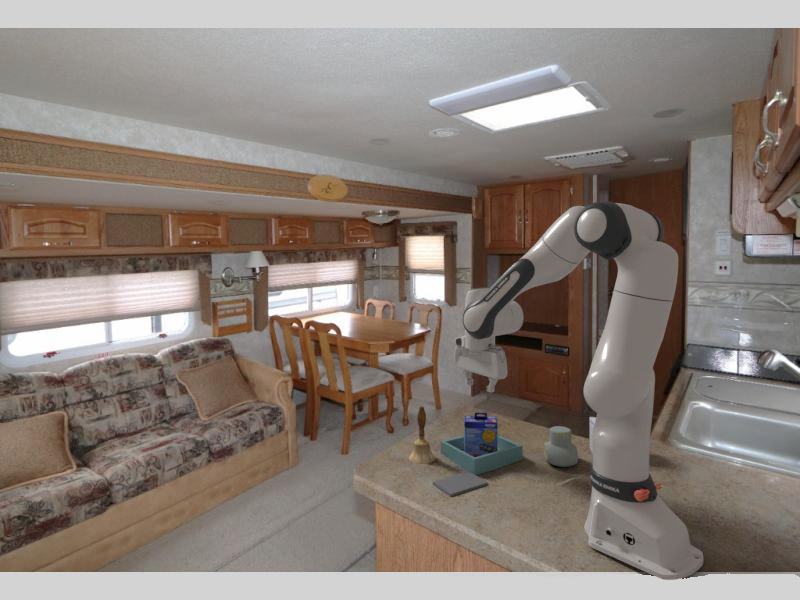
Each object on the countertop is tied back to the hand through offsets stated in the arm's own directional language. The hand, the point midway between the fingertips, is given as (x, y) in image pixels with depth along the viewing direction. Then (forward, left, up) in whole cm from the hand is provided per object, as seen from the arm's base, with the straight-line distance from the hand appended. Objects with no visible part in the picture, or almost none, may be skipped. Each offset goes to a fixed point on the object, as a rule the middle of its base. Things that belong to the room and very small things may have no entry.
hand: (479, 388), depth 136 cm
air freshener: (-15, -17, -22) cm, 31 cm away
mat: (-10, +15, -21) cm, 28 cm away
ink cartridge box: (0, 0, -22) cm, 22 cm away
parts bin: (0, 0, -21) cm, 21 cm away
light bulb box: (-19, -34, -22) cm, 45 cm away
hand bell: (+9, +15, -22) cm, 28 cm away
